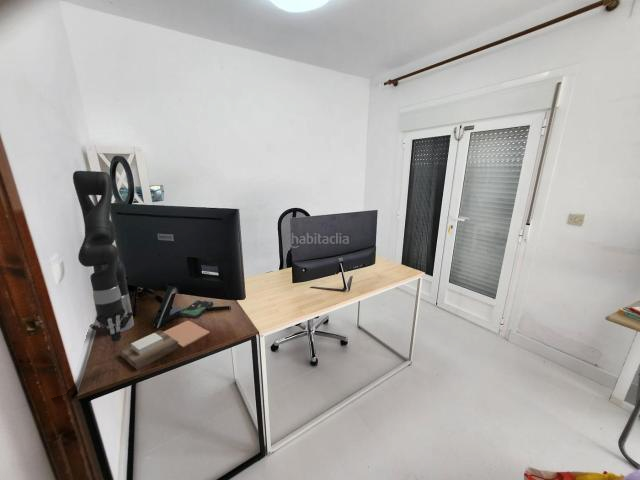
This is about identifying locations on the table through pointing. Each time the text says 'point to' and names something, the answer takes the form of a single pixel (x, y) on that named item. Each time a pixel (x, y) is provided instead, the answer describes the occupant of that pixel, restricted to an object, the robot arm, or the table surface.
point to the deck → (149, 352)
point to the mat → (186, 333)
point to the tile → (147, 343)
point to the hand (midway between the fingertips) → (116, 340)
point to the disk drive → (196, 309)
